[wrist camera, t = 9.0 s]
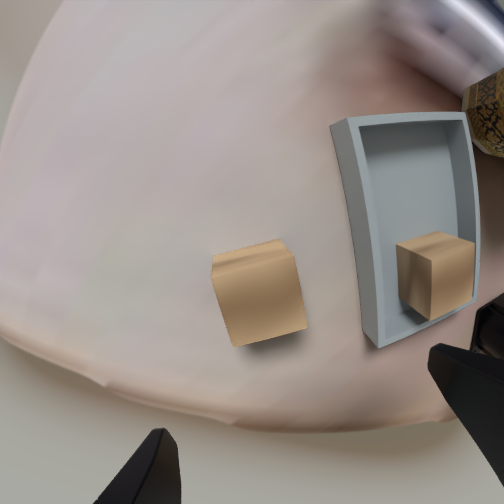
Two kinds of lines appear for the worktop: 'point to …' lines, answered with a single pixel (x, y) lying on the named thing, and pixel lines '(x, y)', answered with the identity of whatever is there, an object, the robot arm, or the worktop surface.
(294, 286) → the block
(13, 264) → the worktop surface
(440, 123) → the tray
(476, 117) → the ceramic cup
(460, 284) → the block
